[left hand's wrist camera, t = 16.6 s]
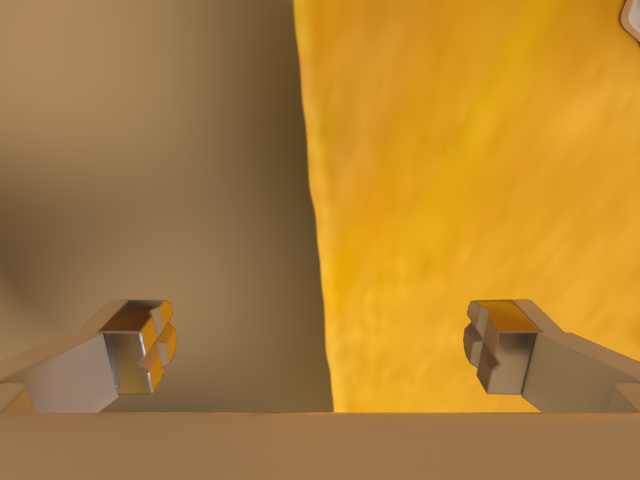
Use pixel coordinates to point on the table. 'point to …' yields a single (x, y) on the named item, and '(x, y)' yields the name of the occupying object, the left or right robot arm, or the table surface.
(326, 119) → the table surface
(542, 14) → the table surface
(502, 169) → the table surface
